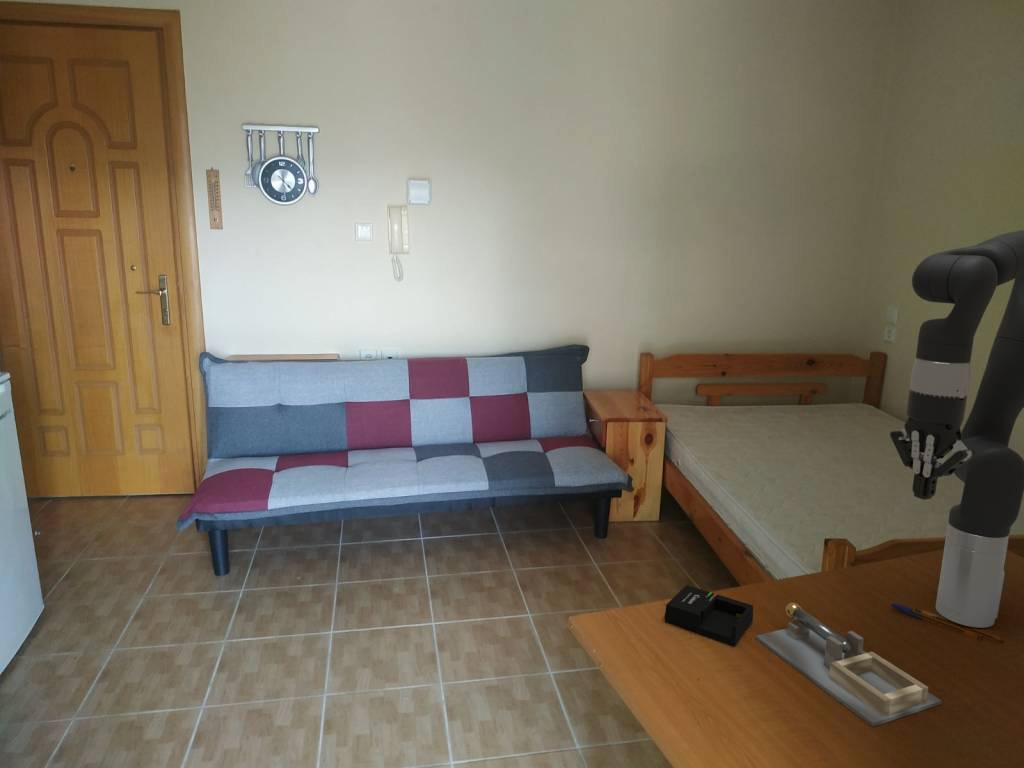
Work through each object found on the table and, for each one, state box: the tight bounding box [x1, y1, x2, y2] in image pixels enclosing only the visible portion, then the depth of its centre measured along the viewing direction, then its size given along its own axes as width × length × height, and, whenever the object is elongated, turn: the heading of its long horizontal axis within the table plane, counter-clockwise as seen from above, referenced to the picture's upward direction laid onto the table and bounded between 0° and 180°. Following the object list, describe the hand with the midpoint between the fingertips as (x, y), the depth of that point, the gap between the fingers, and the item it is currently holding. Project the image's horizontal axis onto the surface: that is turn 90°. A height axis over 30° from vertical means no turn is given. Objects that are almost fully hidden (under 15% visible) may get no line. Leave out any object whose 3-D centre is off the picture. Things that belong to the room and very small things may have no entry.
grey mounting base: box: [755, 620, 942, 728], centre depth 112 cm, size 14×24×6 cm, turn 22°
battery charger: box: [664, 584, 754, 648], centre depth 125 cm, size 13×10×4 cm
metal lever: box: [785, 602, 851, 653], centre depth 117 cm, size 3×13×3 cm, turn 22°
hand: (922, 497), depth 108 cm, fingers closed
